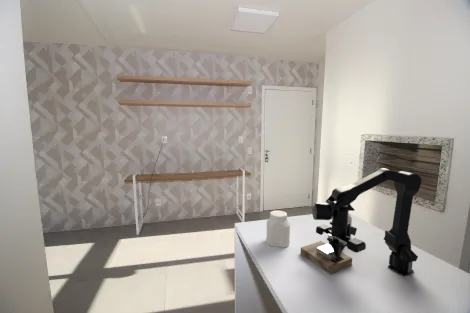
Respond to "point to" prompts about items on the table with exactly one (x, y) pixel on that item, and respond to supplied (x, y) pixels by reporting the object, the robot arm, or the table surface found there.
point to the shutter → (326, 251)
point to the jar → (278, 229)
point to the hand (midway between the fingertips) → (337, 256)
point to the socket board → (323, 262)
